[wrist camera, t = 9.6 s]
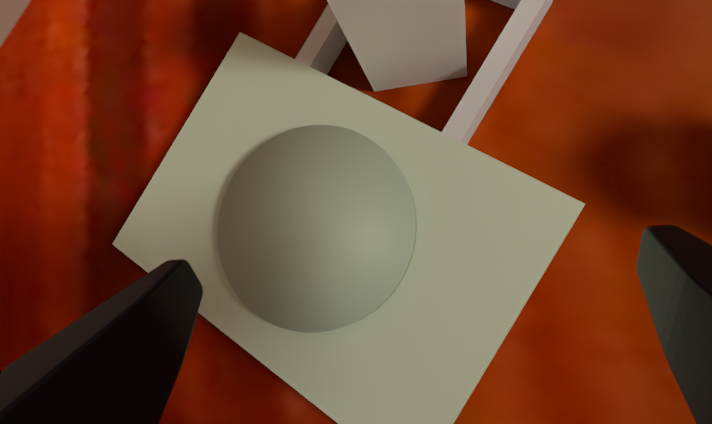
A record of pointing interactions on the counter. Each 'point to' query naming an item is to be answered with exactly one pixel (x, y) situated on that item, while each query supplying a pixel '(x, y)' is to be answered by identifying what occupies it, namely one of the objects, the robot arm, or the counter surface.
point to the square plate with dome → (352, 228)
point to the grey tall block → (405, 39)
